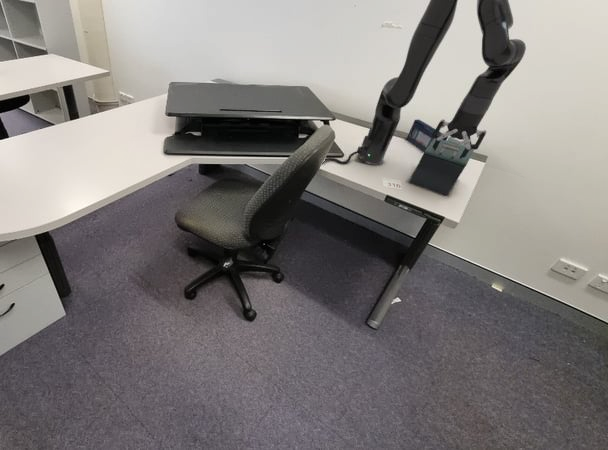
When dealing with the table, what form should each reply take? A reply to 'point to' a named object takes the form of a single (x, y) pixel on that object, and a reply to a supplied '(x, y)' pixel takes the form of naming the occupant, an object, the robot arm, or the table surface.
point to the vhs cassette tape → (421, 135)
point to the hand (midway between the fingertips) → (447, 153)
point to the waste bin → (436, 174)
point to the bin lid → (449, 152)
